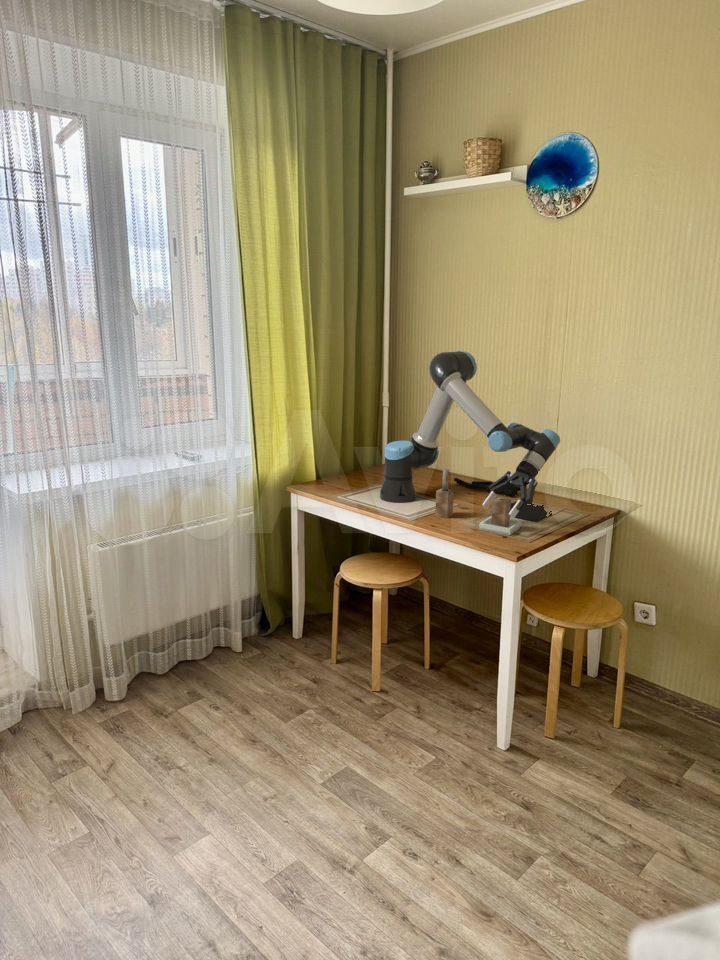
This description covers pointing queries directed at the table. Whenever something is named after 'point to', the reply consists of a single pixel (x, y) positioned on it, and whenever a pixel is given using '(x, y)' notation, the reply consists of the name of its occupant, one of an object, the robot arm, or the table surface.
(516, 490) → the toy
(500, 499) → the block
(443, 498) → the block
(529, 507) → the tablet
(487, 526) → the tray
